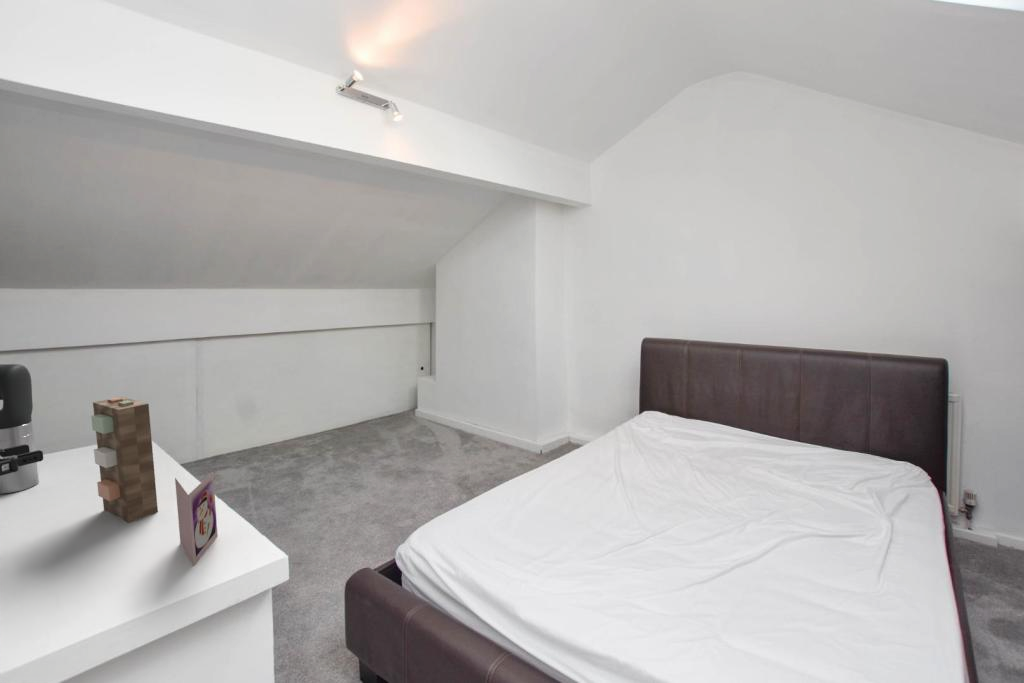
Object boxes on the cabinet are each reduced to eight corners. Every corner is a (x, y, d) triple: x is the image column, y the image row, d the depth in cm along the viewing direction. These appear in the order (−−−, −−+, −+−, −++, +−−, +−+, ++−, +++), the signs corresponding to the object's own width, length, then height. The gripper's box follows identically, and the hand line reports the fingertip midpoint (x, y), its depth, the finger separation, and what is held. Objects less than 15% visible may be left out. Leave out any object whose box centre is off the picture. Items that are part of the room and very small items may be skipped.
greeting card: (198, 566, 97) (193, 494, 95) (157, 569, 96) (150, 497, 94) (221, 535, 108) (217, 471, 106) (185, 538, 107) (179, 473, 105)
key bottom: (98, 496, 115) (97, 482, 114) (114, 490, 118) (113, 477, 117) (109, 501, 112) (108, 487, 112) (125, 495, 115) (124, 482, 115)
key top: (92, 430, 113) (91, 415, 112) (109, 426, 116) (107, 412, 115) (103, 433, 110) (102, 419, 110) (120, 430, 113) (119, 415, 113)
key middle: (95, 463, 114) (93, 449, 113) (111, 459, 116) (110, 445, 116) (106, 468, 111) (104, 453, 111) (122, 463, 114) (121, 449, 114)
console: (103, 510, 119) (92, 399, 115) (132, 500, 124) (122, 394, 120) (129, 522, 113) (118, 407, 109) (157, 511, 118) (148, 401, 115)
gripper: (-79, 468, 84) (48, 440, 98) (-104, 453, 90) (19, 429, 105) (-73, 509, 85) (52, 476, 99) (-98, 491, 91) (23, 462, 106)
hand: (34, 452), depth 102 cm, fingers open, 6 cm apart
